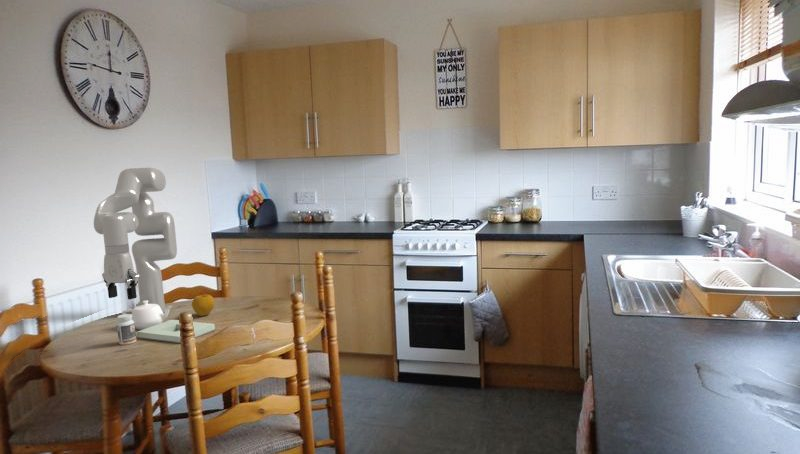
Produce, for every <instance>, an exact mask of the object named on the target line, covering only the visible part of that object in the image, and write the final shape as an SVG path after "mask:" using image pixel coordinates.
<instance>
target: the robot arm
mask: <svg viewBox="0 0 800 454" xmlns="http://www.w3.org/2000/svg"><path fill="white" fill-rule="evenodd" d="M166 185H167V182H166V176H165V174H164V173H163V171H161V170H159V169H158V168H154V167H137V168H136V167H133V168H125V169H123V170H122V171H121V172H120V173H119V175H118V179H117V183H116V186H115V190H114V193H112V194H111V195H109V196H108V197H107V198H105V199H103V200H102V201H101V202H100V203H99V204H98V205H97V207H96V210H95V214H94V218H93V228H94V231H95V232H96V233H97V234H99V235H103V243H104V250H105V251H104V252H105V254H104V257H103V273H102V274H101V276H102V279H103V282H104V283H105V287H107V295H108V299H112V298H117V297H118V287H117V285H116V284H125V285H126V296H127V300H133V299H137V298H138V297H137V289H136V288H138V296H139V301H138V303H135V307H137V306H140V305H143V304H144V303H143V301H146V300H148V304H158V305H159V306H160V308H161V310H162V312H163V314H164V313H165V312H166V309H167V307H168V306H169V305H165V304H166V303H165V296H164V295H165V293H164V285H163V284H164V283H163V277H162V275H163V274H162V270H161V268H160V267H159V266H158V264H157V263H156V262H159V261H169V260H174V259H175V258H176V256H177V255H178V247H177V246H178V245H177V238H176V236H177V235H176V226H175V220H174V216H173V215H172V214H171V213H170V212H166V211H161V212H160V211H158V212H156V211H155V205H154V203H155V202H154V200H153V198H152V197H151V196H150V194H149V193H151V192H162V191H164V189H165V188H166ZM129 208H131V210H132V211H131V212H130V211H124V210H127V209H129ZM122 211H123V212H122ZM129 233H135V234H136V235H137V236H143V237H146V236H147V237H148V236H150V237H151V236H163V237H156V238H155V237H154V238H144V239H143V238H142V239H138V240H136V241H134V242H133V243H132V244H131V253H132V256H131V253H130V246H129V237H128V236H129V235H128V234H129ZM132 257H133V259H132ZM133 260H134V264H135V269H134V264H133ZM135 270H136V271H135ZM137 286H138V287H137Z"/></svg>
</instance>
